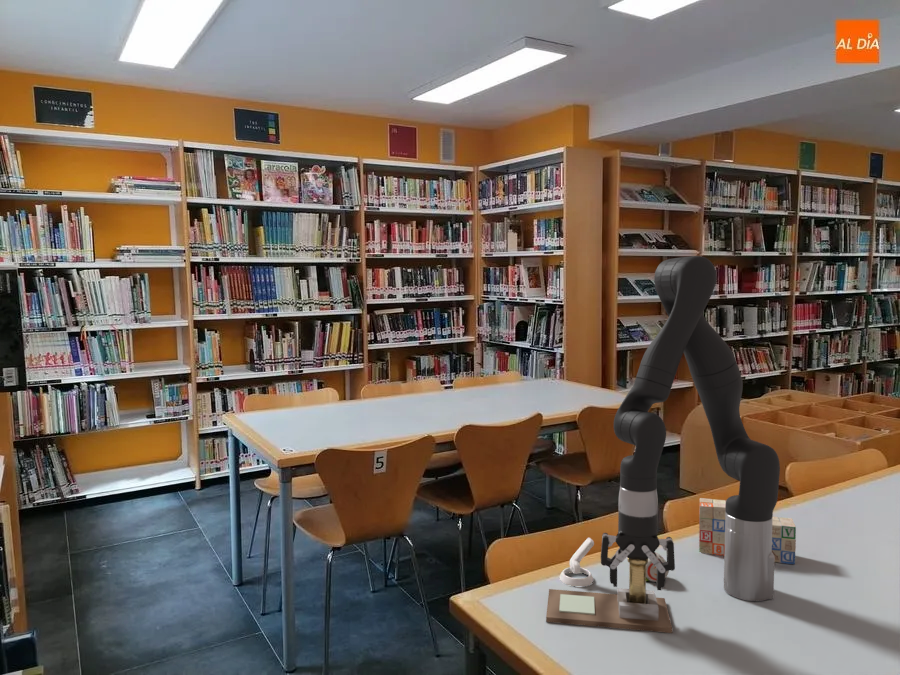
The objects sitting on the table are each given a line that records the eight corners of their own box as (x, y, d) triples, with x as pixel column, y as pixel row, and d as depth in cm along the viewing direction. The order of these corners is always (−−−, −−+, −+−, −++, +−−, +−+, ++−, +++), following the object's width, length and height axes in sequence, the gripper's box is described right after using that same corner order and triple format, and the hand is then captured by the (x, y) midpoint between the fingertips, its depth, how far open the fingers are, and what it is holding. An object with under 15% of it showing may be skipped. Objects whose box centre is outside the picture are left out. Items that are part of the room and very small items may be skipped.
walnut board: (664, 602, 136) (664, 586, 136) (672, 633, 125) (672, 615, 124) (549, 593, 141) (549, 577, 141) (546, 621, 129) (546, 605, 129)
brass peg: (646, 605, 133) (647, 554, 132) (648, 615, 129) (649, 562, 128) (626, 604, 134) (626, 552, 133) (627, 613, 130) (628, 560, 129)
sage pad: (594, 598, 137) (594, 596, 137) (594, 614, 130) (594, 613, 130) (560, 595, 138) (560, 594, 138) (559, 611, 131) (559, 610, 131)
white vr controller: (619, 564, 143) (595, 550, 141) (585, 603, 145) (561, 590, 144) (607, 544, 150) (584, 530, 148) (576, 582, 152) (553, 568, 151)
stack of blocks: (791, 555, 159) (793, 506, 158) (795, 565, 153) (796, 514, 152) (698, 543, 167) (699, 496, 166) (698, 553, 161) (699, 504, 160)
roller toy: (636, 574, 149) (637, 550, 149) (663, 573, 150) (664, 549, 149) (643, 583, 145) (643, 558, 145) (671, 582, 145) (671, 557, 145)
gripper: (672, 504, 132) (671, 581, 133) (600, 500, 135) (600, 575, 136) (677, 517, 125) (676, 598, 126) (601, 513, 128) (601, 592, 129)
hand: (636, 586), depth 131 cm, fingers open, 8 cm apart
